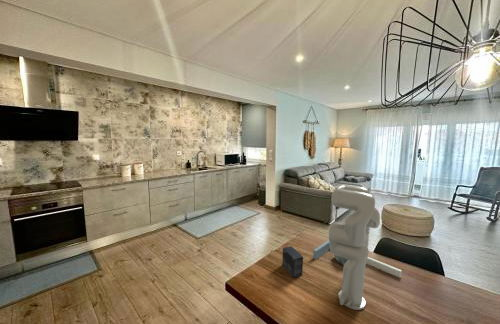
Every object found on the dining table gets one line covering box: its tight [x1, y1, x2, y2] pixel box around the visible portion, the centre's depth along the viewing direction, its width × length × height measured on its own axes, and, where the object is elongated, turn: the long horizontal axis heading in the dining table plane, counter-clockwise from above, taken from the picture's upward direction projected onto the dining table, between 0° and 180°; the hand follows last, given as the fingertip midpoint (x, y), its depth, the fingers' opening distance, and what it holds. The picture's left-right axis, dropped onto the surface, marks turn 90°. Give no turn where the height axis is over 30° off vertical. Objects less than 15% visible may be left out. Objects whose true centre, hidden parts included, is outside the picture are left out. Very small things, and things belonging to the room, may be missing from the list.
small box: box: [281, 245, 304, 278], centre depth 131 cm, size 13×7×12 cm, turn 22°
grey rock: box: [333, 254, 348, 266], centre depth 140 cm, size 14×10×10 cm
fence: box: [312, 239, 403, 278], centre depth 135 cm, size 23×45×6 cm, turn 42°
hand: (359, 256), depth 129 cm, fingers open, 9 cm apart
